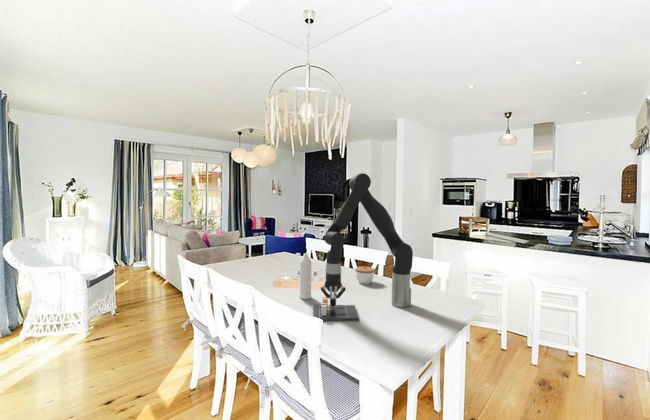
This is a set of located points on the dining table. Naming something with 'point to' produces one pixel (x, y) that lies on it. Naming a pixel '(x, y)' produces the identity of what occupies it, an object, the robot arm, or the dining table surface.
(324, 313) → the white banded fader cap
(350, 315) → the console
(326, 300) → the fader orange
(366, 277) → the lidded bowl
